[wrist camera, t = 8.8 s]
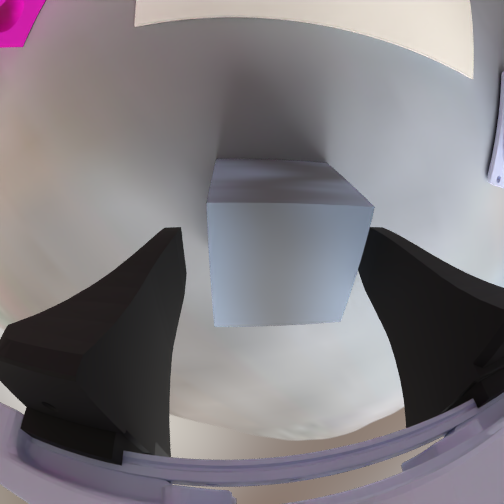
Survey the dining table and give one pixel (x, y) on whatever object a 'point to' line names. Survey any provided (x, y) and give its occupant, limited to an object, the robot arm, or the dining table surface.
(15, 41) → the toy block
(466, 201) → the dining table surface
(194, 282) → the dining table surface
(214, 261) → the slate-blue cube
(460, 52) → the letter board
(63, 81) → the dining table surface
